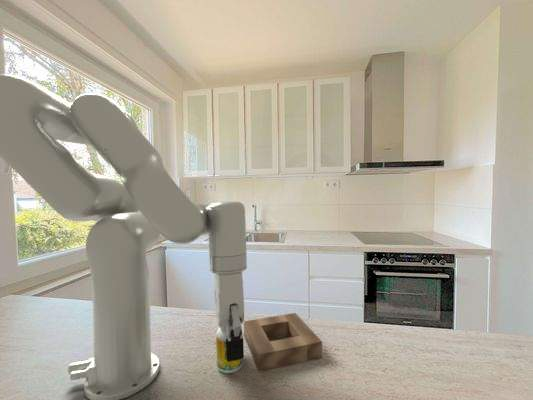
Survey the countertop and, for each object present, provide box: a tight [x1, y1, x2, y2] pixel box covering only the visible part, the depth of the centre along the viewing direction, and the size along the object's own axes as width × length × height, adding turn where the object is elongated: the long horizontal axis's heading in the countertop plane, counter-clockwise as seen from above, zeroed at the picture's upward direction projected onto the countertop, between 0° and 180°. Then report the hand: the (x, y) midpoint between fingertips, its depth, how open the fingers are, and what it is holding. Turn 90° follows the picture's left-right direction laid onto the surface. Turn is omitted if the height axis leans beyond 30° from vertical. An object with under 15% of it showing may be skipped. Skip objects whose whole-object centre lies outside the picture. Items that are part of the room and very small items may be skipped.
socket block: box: [243, 312, 323, 373], centre depth 57 cm, size 14×14×4 cm
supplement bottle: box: [215, 319, 244, 374], centre depth 51 cm, size 5×5×10 cm
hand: (231, 344), depth 51 cm, fingers open, 9 cm apart
